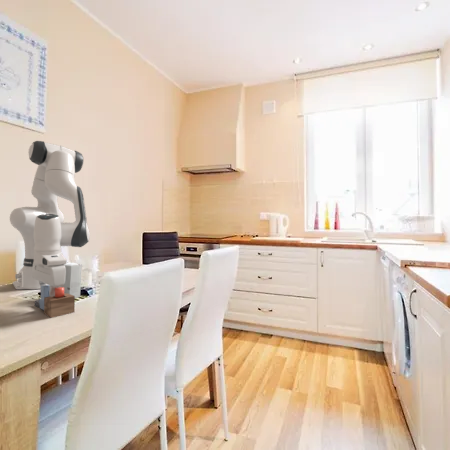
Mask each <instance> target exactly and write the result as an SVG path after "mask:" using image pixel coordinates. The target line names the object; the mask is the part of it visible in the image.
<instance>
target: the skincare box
mask: <svg viewBox="0 0 450 450" xmlns="http://www.w3.org/2000/svg"><path fill="white" fill-rule="evenodd" d="M64 265H65V268H66V274H65V283H64V285H63V286H57V288H58V287H64V294H66V293H68V294H70V295H73V296H75V299H78V298H81V287H82V286H81V284H82V271H83V270H82V267H83V266H82V264H81V263H77V262H70V261H67V263H66V264H64Z"/></svg>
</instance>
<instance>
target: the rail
mask: <svg viewBox="0 0 450 450" xmlns="http://www.w3.org/2000/svg"><path fill="white" fill-rule="evenodd" d="M34 306H35V307H37V308H39V309H41V308H40V304H39V299H35V300H34ZM41 310H42V309H41Z"/></svg>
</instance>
